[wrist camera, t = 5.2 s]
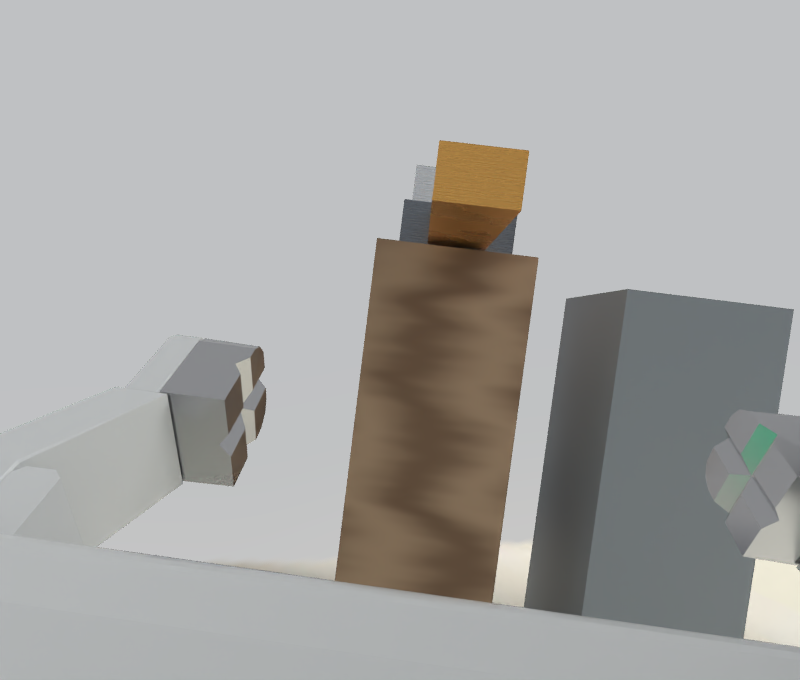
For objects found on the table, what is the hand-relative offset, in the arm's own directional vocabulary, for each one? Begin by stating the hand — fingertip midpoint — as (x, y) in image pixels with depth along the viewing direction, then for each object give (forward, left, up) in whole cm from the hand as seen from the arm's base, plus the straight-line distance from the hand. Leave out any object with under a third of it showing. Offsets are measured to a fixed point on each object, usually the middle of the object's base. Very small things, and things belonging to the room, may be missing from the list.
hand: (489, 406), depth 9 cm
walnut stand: (0, -23, -20) cm, 30 cm away
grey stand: (-13, -23, -20) cm, 33 cm away
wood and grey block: (0, -18, +5) cm, 19 cm away
